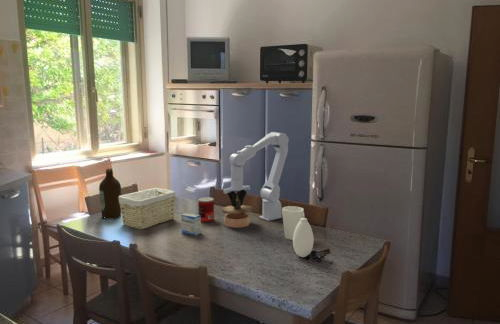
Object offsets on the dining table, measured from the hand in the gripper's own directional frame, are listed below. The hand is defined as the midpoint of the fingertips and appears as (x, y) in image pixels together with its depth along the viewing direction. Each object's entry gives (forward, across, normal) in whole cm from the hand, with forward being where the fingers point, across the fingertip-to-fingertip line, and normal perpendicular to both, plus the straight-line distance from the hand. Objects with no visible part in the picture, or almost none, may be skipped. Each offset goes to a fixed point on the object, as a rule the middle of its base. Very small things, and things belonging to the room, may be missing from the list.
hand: (237, 205), depth 206 cm
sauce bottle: (+9, +4, +50) cm, 51 cm away
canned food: (+9, +9, -14) cm, 19 cm away
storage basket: (+9, +34, -29) cm, 45 cm away
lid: (+2, 0, 0) cm, 2 cm away
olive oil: (+9, +45, -49) cm, 67 cm away
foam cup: (+9, -8, +31) cm, 33 cm away
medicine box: (+9, +25, -1) cm, 27 cm away
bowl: (+9, 0, 0) cm, 9 cm away
